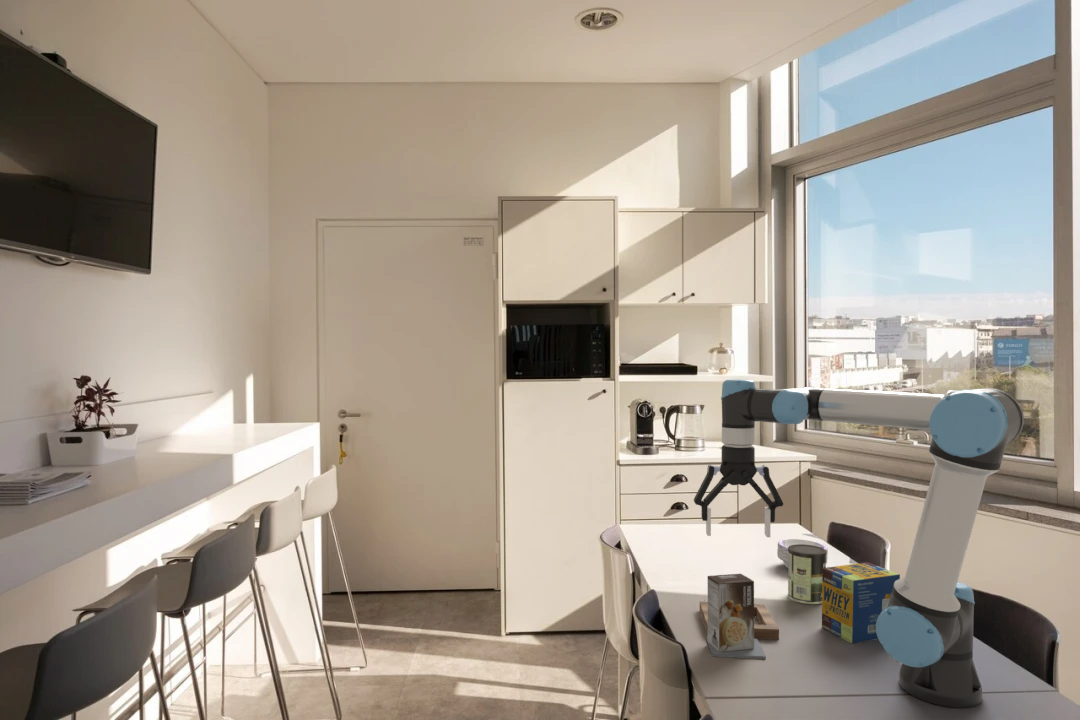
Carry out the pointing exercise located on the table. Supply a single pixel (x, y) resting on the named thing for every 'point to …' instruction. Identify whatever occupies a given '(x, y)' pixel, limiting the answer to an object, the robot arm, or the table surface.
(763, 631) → the pocket block
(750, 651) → the rubber mat
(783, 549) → the paper bowls
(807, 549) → the coffee can
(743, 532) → the table surface
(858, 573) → the protein box
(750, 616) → the coffee box
